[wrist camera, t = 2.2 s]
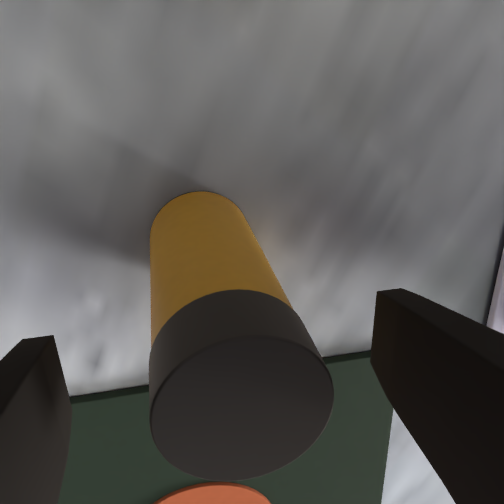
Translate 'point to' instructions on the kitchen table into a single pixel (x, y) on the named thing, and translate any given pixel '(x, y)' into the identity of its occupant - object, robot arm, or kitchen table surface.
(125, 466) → the mat
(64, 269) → the kitchen table surface
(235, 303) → the glue stick
